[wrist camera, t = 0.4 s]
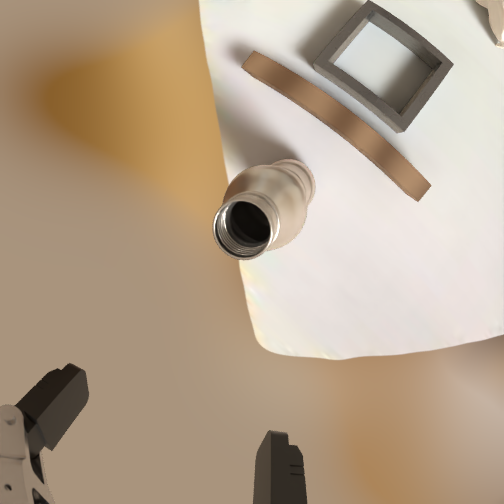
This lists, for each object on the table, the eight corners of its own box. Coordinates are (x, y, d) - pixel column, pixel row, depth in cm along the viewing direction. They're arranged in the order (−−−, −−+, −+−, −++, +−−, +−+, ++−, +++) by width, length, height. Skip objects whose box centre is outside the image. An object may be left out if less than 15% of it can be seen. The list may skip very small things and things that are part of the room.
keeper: (314, 70, 27) (313, 62, 24) (365, 11, 21) (368, -1, 18) (396, 133, 27) (404, 131, 24) (443, 70, 21) (453, 64, 18)
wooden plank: (253, 77, 29) (241, 67, 25) (264, 62, 28) (254, 50, 23) (406, 194, 29) (418, 201, 25) (418, 179, 28) (431, 185, 24)
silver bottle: (255, 193, 35) (174, 246, 17) (281, 148, 32) (219, 149, 14) (298, 219, 35) (260, 302, 17) (326, 175, 32) (324, 212, 14)
